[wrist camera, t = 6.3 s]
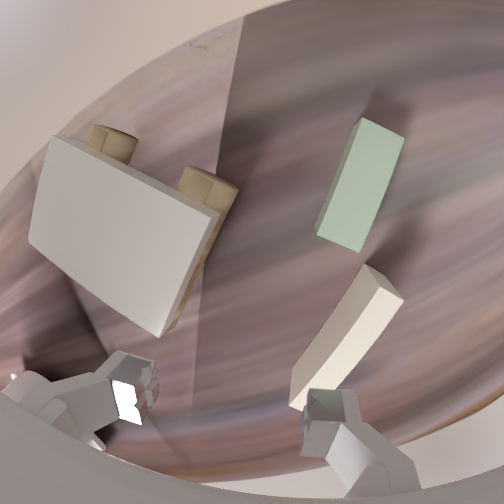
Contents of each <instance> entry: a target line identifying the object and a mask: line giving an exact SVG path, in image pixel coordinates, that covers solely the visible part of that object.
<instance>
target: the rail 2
mask: <svg viewBox="0 0 504 504" xmlns="http://www.w3.org/2000/svg"><path fill="white" fill-rule="evenodd" d="M175 190H176V191H178V192H180V193H182V194H184V195H186V196H188V197H190V198H191V199H193V200H195V201H197V202H199V203H201V204H203V205H205V206H207V207H209V208H211V209H212V210H214V211H216V212H218V213H220V216H219V219H218V221H217V223H216V225H215V227H214V229H213V231H212V233H211V235H210V238H209V240H208V242H207V244H206V246H205V248H204V250H203V253H202V255H201V257H200V259H199V261H198V264H197V266H196V268H195V270H194V272H193V275H192V277H191V279H190V281H189V284H188V286H187V288H186V290H185V293H184V295H183V297H182V299H181V302H180V304H179V306H178V309H177V311H176V313H175V316H174V318H173V320H172V323H171V325H170V326H169V327H168V328H167V329H166V331H168V330H171V329H173V328H174V327H175V326H176V324H177V322H178V319H179V317H180V315H181V312H182V310H183V308H184V306H185V304H186V301H187V299H188V297H189V295H190V292H191V290H192V288H193V286H194V284H195V281H196V279H197V277H198V275H199V273H200V271H201V268H202V266H203V264H204V262H205V260H206V258H207V256H208V253H209V251H210V249H211V247H212V245H213V243H214V241H215V239H216V237H217V234H218V232H219V230H220V228H221V226H222V224H223V222H224V220H225V218H226V216H227V214H228V212H229V210H230V208H231V206H232V204H233V202H234V200H235V198H236V196H237V193H238V191H239V189H238V188H237V187H236V186H235V185H233V184H232V183H230V182H228V181H227V180H225V179H223V178H221V177H219V176H217V175H214V174H212V173H210V172H208V171H205V170H203V169H200V168H197V167H193V166H189V165H187V166H186V167H185V169H184V171H183V173H182V176H181V178H180V180H179V182H178V185H177V187H176V189H175Z"/></svg>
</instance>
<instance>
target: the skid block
mask: <svg viewBox="0 0 504 504" xmlns="http://www.w3.org/2000/svg"><path fill="white" fill-rule="evenodd" d="M404 139H405V138H403V137H401V136H399V135H398V134H396V133H394V132H392V131H390V130H388V129H386V128H384V127H382V126H380V125H378V124H375V123H373V122H371V121H369V120H367V119H365V118H363V117H362V118H361V119H360V120H359V121H358V122H357V123H356V124H355V125H354V126H353V129H352V131H351V134H350V137H349V139H348V142H347V145H346V148H345V150H344V153H343V155H342V158H341V161H340V163H339V166H338V169H337V171H336V174H335V176H334V179H333V181H332V184H331V186H330V189H329V191H328V194H327V196H326V199H325V201H324V204H323V206H322V209H321V211H320V214H319V216H318V218H317V221H316V223H315V226H314V227H315V231H316V234H317V235H318V236H321V237H323V238H325V239H328V240H330V241H332V242H335V243H337V244H340V245H342V246H344V247H346V248H349V249H351V250H353V251H356V252H358V253H359V252H360V250H361V248H362V246H363V244H364V241H365V239H366V237H367V235H368V232H369V230H370V228H371V225H372V223H373V221H374V218H375V216H376V213H377V211H378V209H379V206H380V204H381V201H382V199H383V196H384V194H385V191H386V189H387V186H388V183H389V181H390V178H391V176H392V173H393V170H394V167H395V165H396V162H397V159H398V156H399V153H400V151H401V148H402V145H403V142H404Z"/></svg>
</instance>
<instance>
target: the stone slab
mask: <svg viewBox="0 0 504 504" xmlns="http://www.w3.org/2000/svg"><path fill="white" fill-rule="evenodd" d="M219 216H220V213H218V212H216V211H214V210H212V209H211V208H209V207H207V206H205V205H203V204H201V203H199V202H197V201H195V200H193V199H191V198H190V197H188V196H186V195H184V194H182V193H180V192H178V191H176V190H174V189H172V188H170V187H168V186H166V185H164V184H163V183H161V182H159V181H157V180H155V179H153V178H151V177H149V176H147V175H145V174H143V173H141V172H139V171H137V170H135V169H133V168H131V167H129V166H127V165H125V164H123V163H121V162H119V161H117V160H115V159H113V158H111V157H109V156H107V155H105V154H103V153H101V152H99V151H97V150H95V149H93V148H91V147H89V146H87V145H85V144H83V143H81V142H79V141H77V140H75V139H73V138H71V137H65V136H52V138H51V141H50V145H49V148H48V151H47V154H46V158H45V161H44V165H43V169H42V172H41V176H40V180H39V185H38V189H37V193H36V198H35V203H34V208H33V213H32V219H31V225H30V231H29V238H28V242H29V243H30V244H31V245H33V246H34V247H35V248H36V249H37V250H38V251H39V252H41V253H42V254H43V255H44V256H45V257H46V258H48V259H49V260H50V261H51V262H53V263H54V264H55V265H56V266H57V267H59V268H60V269H61V270H62V271H64V272H65V273H66V274H67V275H69V276H70V277H71V278H73V279H74V280H75V281H76V282H78V283H79V284H80V285H82V286H83V287H84V288H86V289H87V290H88V291H90V292H91V293H92V294H94V295H95V296H97V297H98V298H99V299H101V300H102V301H104V302H105V303H106V304H108V305H109V306H111V307H112V308H114V309H115V310H116V311H118V312H119V313H121V314H122V315H124V316H125V317H127V318H128V319H130V320H131V321H133V322H134V323H136V324H138V325H139V326H141V327H142V328H144V329H145V330H147V331H148V332H150V333H152V334H153V335H155V336H157V337H158V338H159V337H160V336H161V335H162V334H163V333H164V332H165V331H166V329H167V328H168V327H169V326H170V325H171V323H172V320H173V318H174V316H175V313H176V311H177V309H178V306H179V304H180V302H181V299H182V297H183V295H184V293H185V290H186V288H187V286H188V284H189V281H190V279H191V277H192V275H193V272H194V270H195V268H196V266H197V264H198V261H199V259H200V257H201V255H202V253H203V250H204V248H205V246H206V244H207V242H208V240H209V238H210V235H211V233H212V231H213V229H214V227H215V225H216V223H217V221H218V219H219Z"/></svg>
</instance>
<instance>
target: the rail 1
mask: <svg viewBox="0 0 504 504" xmlns="http://www.w3.org/2000/svg"><path fill="white" fill-rule="evenodd" d="M137 142H138V139H137V138H135V137H133V136H131V135H129V134H127V133H124V132H122V131H119V130H116V129H113V128H109V127H106V126H102V125H93V128H92V130H91V133H90V136H89V138H88V141H87V144H86V145H87V146H89V147H91V148H93V149H95V150H97V151H99V152H101V153H103V154H105V155H107V156H109V157H111V158H113V159H115V160H117V161H119V162H121V163H123V164H125V165H127V166H128V164H129V162H130V159H131V157H132V154H133V152H134V149H135V147H136V145H137Z"/></svg>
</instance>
